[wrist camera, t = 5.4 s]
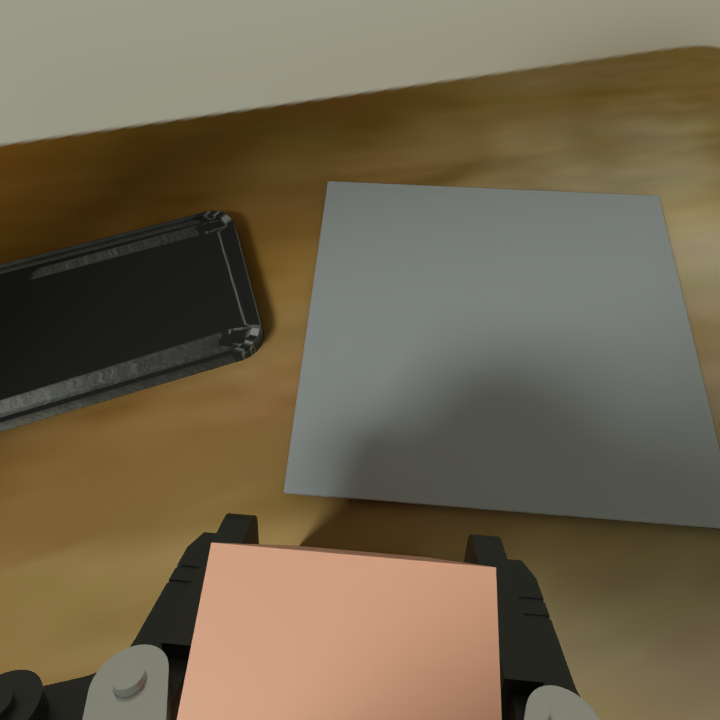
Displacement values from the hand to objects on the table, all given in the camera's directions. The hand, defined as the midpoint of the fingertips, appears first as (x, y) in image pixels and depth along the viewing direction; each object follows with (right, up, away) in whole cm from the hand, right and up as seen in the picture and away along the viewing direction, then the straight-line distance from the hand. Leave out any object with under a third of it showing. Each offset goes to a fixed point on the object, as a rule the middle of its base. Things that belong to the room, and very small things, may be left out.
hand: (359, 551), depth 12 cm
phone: (-12, +6, +8) cm, 16 cm away
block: (0, -3, +3) cm, 5 cm away
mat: (+6, +6, +7) cm, 11 cm away
